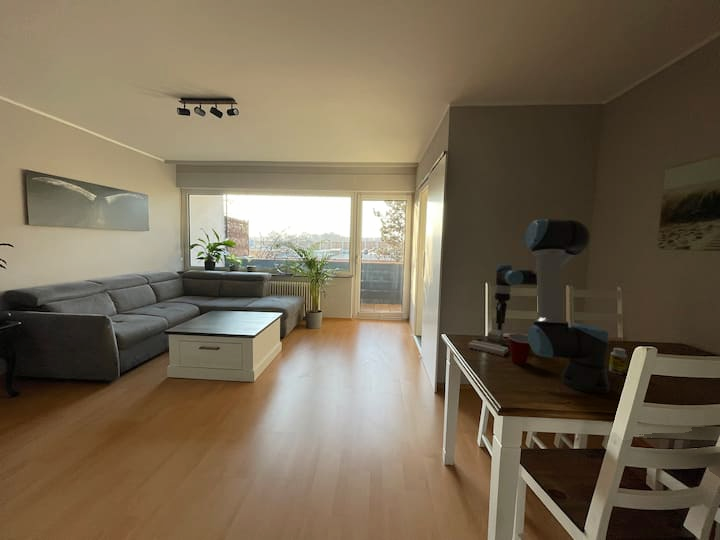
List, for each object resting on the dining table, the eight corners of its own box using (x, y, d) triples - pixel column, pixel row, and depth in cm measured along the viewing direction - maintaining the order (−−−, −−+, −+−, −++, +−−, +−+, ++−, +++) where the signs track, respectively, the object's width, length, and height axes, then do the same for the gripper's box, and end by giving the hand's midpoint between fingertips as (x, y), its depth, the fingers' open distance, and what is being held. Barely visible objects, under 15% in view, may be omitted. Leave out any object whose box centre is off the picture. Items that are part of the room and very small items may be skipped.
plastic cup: (508, 365, 142) (510, 339, 141) (503, 357, 153) (505, 332, 151) (535, 368, 140) (537, 341, 138) (528, 359, 150) (530, 334, 149)
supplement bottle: (610, 372, 138) (612, 349, 137) (607, 368, 142) (610, 346, 142) (626, 375, 135) (629, 352, 134) (623, 371, 140) (626, 348, 139)
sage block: (499, 342, 167) (499, 335, 166) (487, 340, 170) (487, 332, 170) (502, 339, 172) (503, 332, 172) (491, 337, 176) (491, 330, 176)
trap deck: (503, 356, 154) (504, 351, 154) (468, 348, 164) (468, 343, 164) (513, 346, 170) (514, 341, 169) (481, 339, 180) (481, 335, 180)
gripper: (498, 290, 183) (495, 331, 185) (491, 293, 173) (488, 336, 175) (513, 292, 178) (509, 334, 180) (506, 294, 168) (503, 339, 170)
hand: (499, 335), depth 177 cm, fingers closed
